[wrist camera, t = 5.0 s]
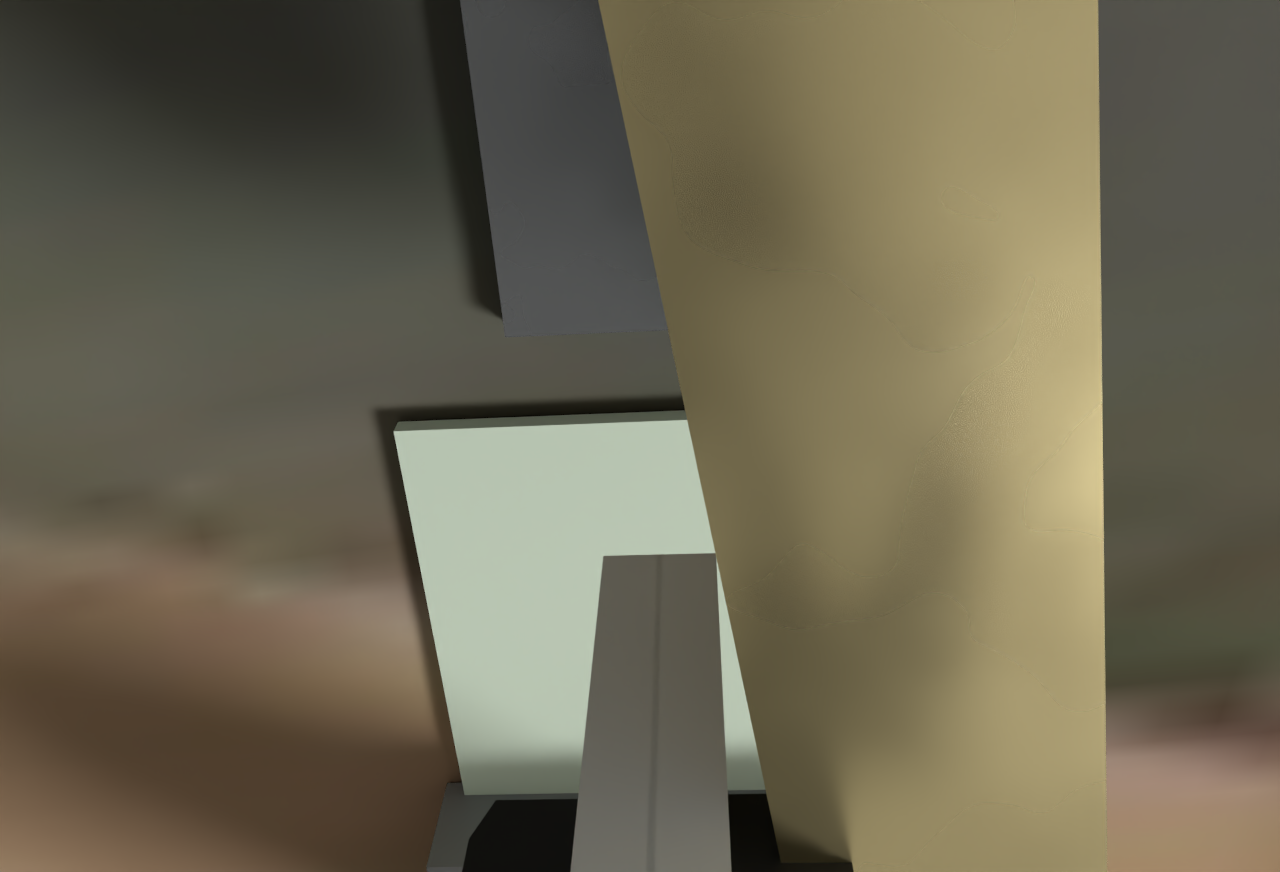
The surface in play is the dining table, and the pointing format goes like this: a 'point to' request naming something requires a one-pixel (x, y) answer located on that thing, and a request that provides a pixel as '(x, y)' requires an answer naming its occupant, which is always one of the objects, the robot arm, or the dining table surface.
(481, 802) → the socket
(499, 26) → the lock plate
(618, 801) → the robot arm
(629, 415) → the mat
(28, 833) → the dining table surface
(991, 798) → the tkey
